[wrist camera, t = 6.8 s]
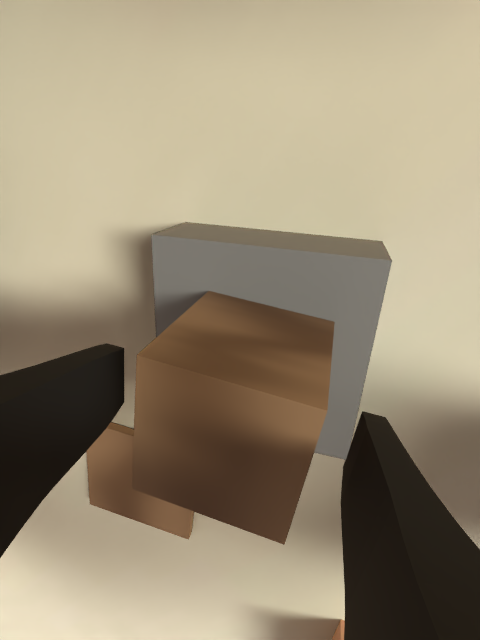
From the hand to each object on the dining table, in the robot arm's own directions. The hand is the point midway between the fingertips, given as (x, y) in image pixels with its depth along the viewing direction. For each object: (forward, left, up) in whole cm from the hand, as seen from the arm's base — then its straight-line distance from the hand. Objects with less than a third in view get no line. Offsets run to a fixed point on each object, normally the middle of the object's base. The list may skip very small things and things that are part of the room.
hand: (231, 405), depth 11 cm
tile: (+6, +12, -6) cm, 15 cm away
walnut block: (0, 0, -3) cm, 3 cm away
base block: (0, 0, -7) cm, 7 cm away
